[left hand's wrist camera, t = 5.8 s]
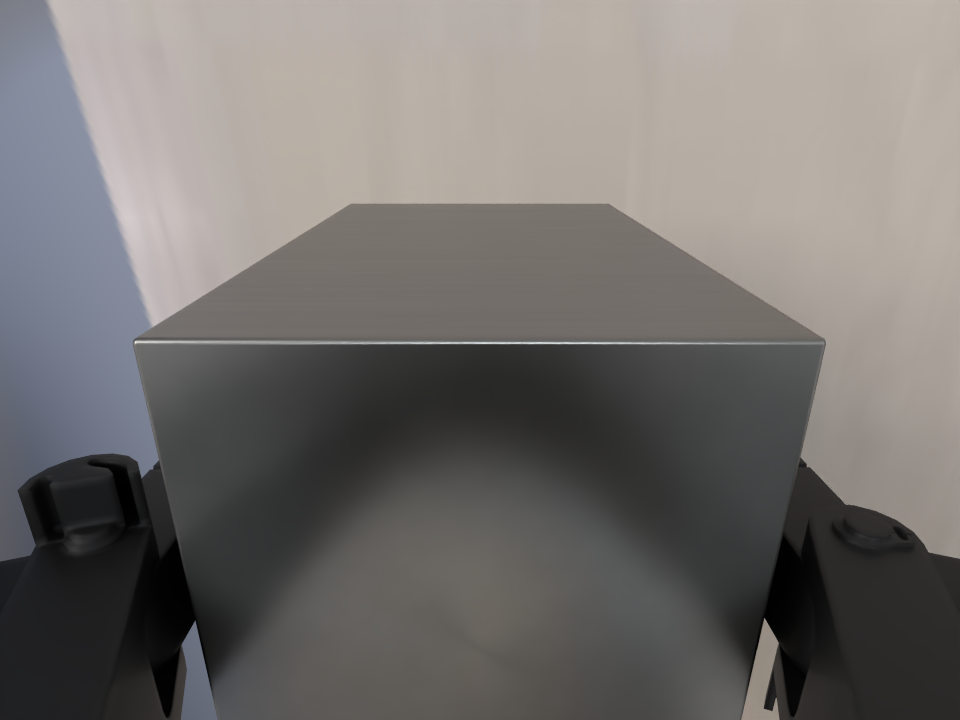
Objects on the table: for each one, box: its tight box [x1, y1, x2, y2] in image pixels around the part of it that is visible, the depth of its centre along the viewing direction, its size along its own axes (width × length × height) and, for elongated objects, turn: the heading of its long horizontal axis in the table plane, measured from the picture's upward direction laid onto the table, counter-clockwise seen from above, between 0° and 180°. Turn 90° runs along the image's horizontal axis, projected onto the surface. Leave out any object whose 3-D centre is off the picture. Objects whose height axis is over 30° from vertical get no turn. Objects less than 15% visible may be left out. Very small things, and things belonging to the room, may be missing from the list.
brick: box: [133, 204, 826, 720], centre depth 12 cm, size 8×7×10 cm
